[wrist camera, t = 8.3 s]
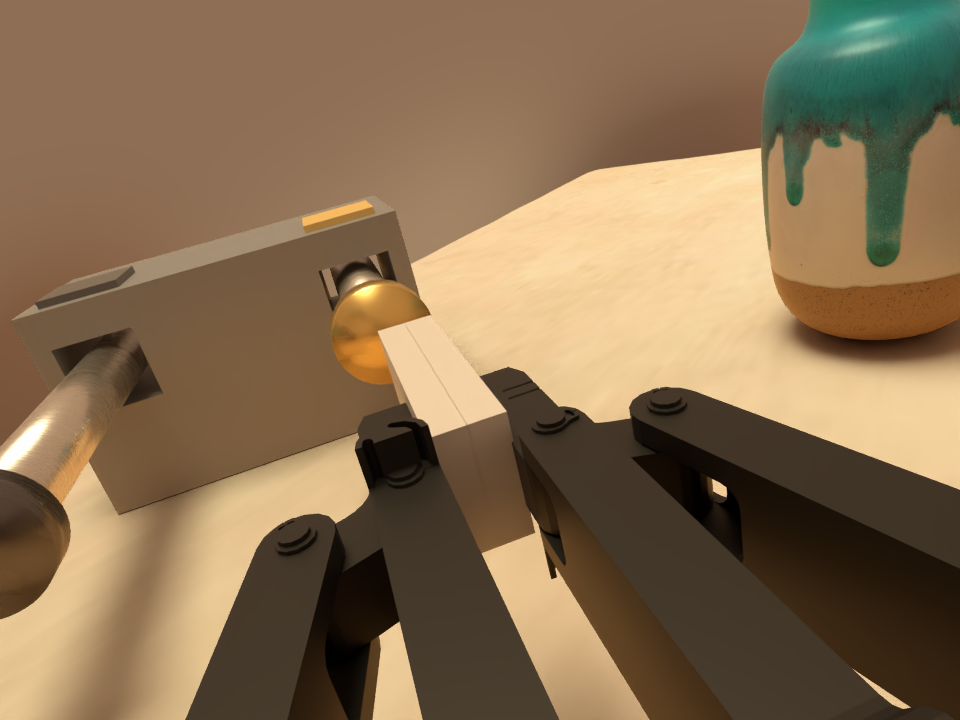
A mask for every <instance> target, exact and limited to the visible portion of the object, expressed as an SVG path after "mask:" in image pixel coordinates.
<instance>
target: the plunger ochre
mask: <svg viewBox="0 0 960 720" xmlns="http://www.w3.org/2000/svg"><path fill="white" fill-rule="evenodd" d="M330 271H331V274H332V277H333V280H334V283H335V286H336V290H337V293H338V296H339V299H340V300H339V301H338V303H337V304H336V306H335V308H334V310H333V313H332V317H331V322H330V334H331V340H332V345H333V349H334V352H335V355H336V357H337V359H338V361H339V362H340V364H341V365H342V366H343V368H344V369H345V370H346V371H347V372H349V373H350V374H351V375H353V376H354V377H356V378H358V379H359V380H362V381H364V382H368V383H372V384H391V383H393V380H392V377H391V374H390V370H389V367H388V364H387V361H386V357H385V354H384V351H383V348H382V344H381V341H380V338H379V334H378V331H380V330H383V329H387V328H390V327H393V326H396V325H400V324H403V323H406V322H409V321H413V320H416V319H419V318H422V317H426V316H429V315H431V314H430V312H429V310H428V308H427V307H426V305H425V304H424V303H423V302H422V300H421V299H420V298H419V297H418V296H417V295H416V293H415V292H413V291H412V290H411V289H410V288H408V287H407V286H405V285H403V284H401V283H399V282H395V281H392V280H386V279H383V277H382V276H381V274H380V273H379V271H378V270H377V268H376V267H375V265H374V264H373V262H372V261H371V259H370V258H369V256H368V257H365V258H361V259H358V260H355V261H351V262H348V263H345V264H341V265H338V266H334V267H331V268H330Z"/></svg>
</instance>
